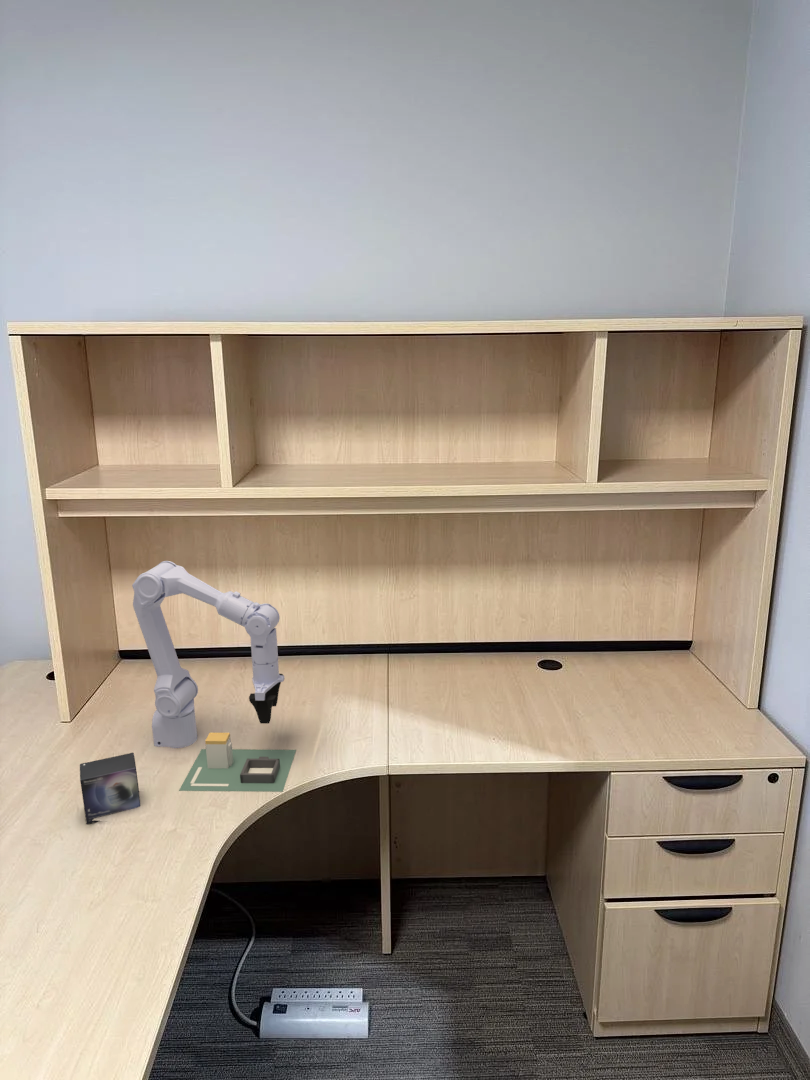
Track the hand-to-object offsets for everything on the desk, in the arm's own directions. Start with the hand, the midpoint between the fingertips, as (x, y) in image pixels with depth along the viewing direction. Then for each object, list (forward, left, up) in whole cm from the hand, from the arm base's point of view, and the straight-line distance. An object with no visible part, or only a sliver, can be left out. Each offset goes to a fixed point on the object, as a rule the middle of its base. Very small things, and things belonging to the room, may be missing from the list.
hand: (268, 714), depth 168 cm
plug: (-10, -6, -9) cm, 15 cm away
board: (-5, -8, -10) cm, 14 cm away
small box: (-28, -21, -10) cm, 37 cm away
